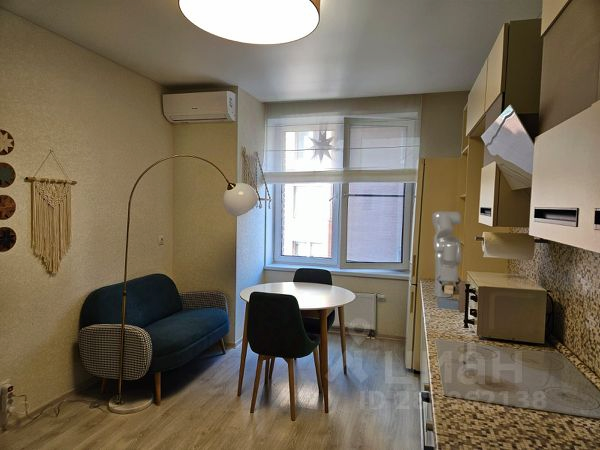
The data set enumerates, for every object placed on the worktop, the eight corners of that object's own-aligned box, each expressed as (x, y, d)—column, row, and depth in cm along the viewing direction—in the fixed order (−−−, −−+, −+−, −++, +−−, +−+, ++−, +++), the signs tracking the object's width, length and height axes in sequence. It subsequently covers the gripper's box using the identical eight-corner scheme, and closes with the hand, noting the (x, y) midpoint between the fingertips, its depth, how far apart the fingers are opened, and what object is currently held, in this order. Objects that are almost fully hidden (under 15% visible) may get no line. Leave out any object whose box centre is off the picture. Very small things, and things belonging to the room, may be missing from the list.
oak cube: (443, 291, 232) (444, 283, 232) (452, 292, 231) (452, 284, 231) (444, 293, 228) (444, 285, 227) (453, 294, 226) (453, 286, 226)
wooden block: (474, 311, 220) (476, 281, 219) (476, 313, 215) (477, 283, 214) (458, 310, 222) (459, 280, 221) (459, 312, 218) (460, 282, 217)
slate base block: (436, 303, 237) (437, 297, 237) (457, 305, 234) (457, 299, 234) (438, 308, 226) (438, 302, 226) (459, 310, 222) (459, 304, 222)
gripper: (463, 263, 229) (462, 291, 230) (434, 261, 234) (433, 289, 235) (465, 264, 222) (464, 294, 223) (435, 263, 227) (434, 292, 228)
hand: (448, 291), depth 229 cm, fingers closed on oak cube, 5 cm apart
